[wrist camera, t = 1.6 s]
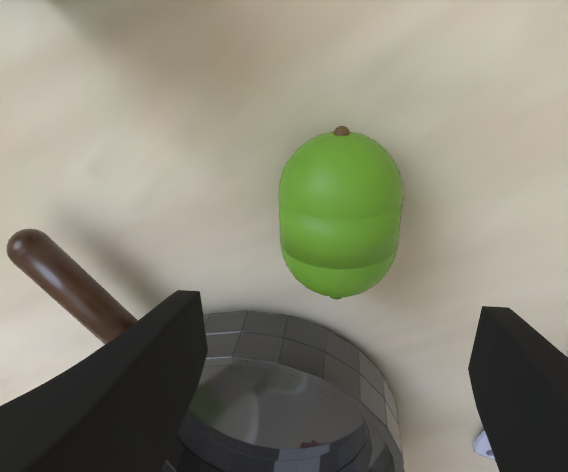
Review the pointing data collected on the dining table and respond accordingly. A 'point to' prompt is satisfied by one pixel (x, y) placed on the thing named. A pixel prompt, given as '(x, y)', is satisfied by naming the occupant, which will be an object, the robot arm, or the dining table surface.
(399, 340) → the dining table surface
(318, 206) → the lime
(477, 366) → the robot arm
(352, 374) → the pan
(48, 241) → the pan handle
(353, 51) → the dining table surface
